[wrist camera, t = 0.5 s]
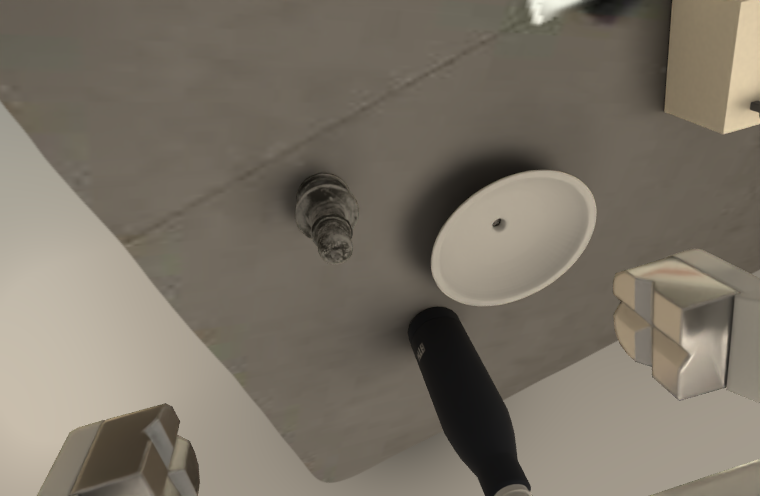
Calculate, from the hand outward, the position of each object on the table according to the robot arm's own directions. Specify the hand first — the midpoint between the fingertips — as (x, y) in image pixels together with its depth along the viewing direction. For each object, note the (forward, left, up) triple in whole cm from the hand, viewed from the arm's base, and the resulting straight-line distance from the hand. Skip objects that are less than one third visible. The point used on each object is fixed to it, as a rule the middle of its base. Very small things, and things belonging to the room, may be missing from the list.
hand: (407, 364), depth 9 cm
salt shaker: (+14, -1, -40) cm, 43 cm away
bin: (+10, +39, -40) cm, 56 cm away
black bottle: (+34, +7, -40) cm, 53 cm away
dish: (+22, +16, -40) cm, 48 cm away
